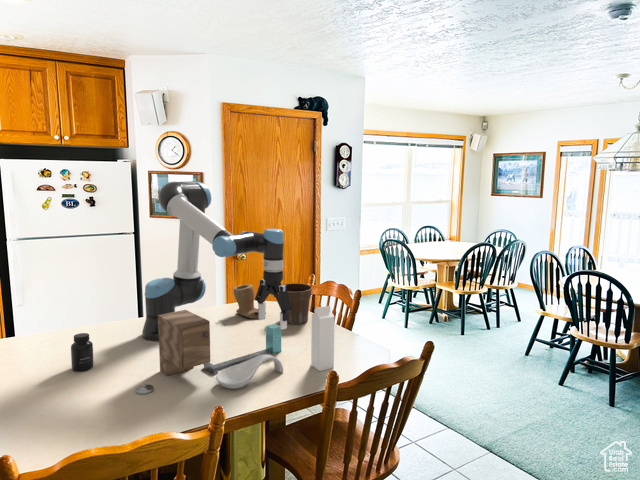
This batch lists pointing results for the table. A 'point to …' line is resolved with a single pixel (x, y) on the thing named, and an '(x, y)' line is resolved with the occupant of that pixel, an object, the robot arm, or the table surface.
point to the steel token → (144, 389)
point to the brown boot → (246, 301)
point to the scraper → (271, 348)
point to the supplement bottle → (82, 353)
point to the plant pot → (298, 302)
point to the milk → (322, 339)
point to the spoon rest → (244, 371)
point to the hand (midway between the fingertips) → (272, 324)
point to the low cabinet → (183, 341)
